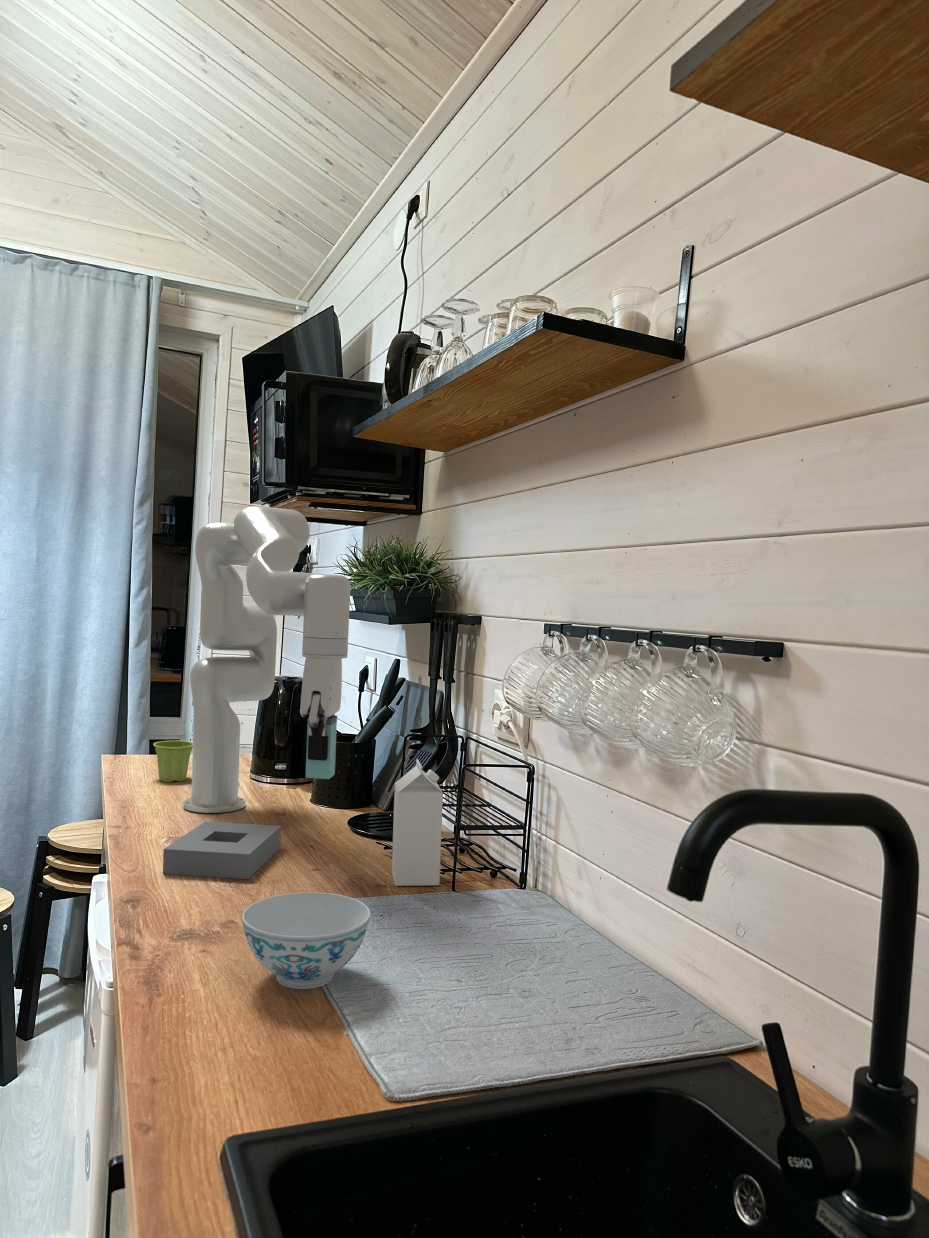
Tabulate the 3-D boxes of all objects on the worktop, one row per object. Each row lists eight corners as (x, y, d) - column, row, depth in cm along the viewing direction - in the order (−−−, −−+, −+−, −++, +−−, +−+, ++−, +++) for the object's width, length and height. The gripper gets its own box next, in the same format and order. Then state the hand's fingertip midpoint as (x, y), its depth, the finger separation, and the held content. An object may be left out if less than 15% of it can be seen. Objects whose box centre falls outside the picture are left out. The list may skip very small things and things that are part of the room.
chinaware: (287, 943, 116) (289, 885, 116) (389, 966, 110) (392, 904, 110) (213, 988, 102) (215, 922, 102) (326, 1016, 97) (328, 946, 96)
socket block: (204, 843, 161) (205, 821, 161) (280, 848, 160) (281, 825, 160) (162, 873, 143) (163, 848, 143) (248, 879, 142) (249, 854, 142)
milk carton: (394, 887, 141) (399, 767, 140) (391, 873, 148) (395, 758, 147) (439, 886, 142) (444, 767, 141) (434, 872, 149) (438, 759, 148)
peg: (311, 772, 152) (313, 714, 152) (335, 774, 152) (337, 715, 151) (305, 777, 148) (307, 717, 148) (329, 779, 148) (331, 718, 147)
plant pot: (200, 777, 217) (201, 742, 217) (180, 785, 208) (181, 748, 208) (166, 774, 219) (167, 739, 219) (144, 781, 210) (145, 745, 210)
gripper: (315, 644, 158) (311, 747, 158) (289, 650, 141) (285, 765, 142) (357, 646, 157) (353, 749, 158) (336, 652, 141) (331, 768, 141)
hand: (321, 756), depth 150 cm, fingers closed on peg, 4 cm apart
